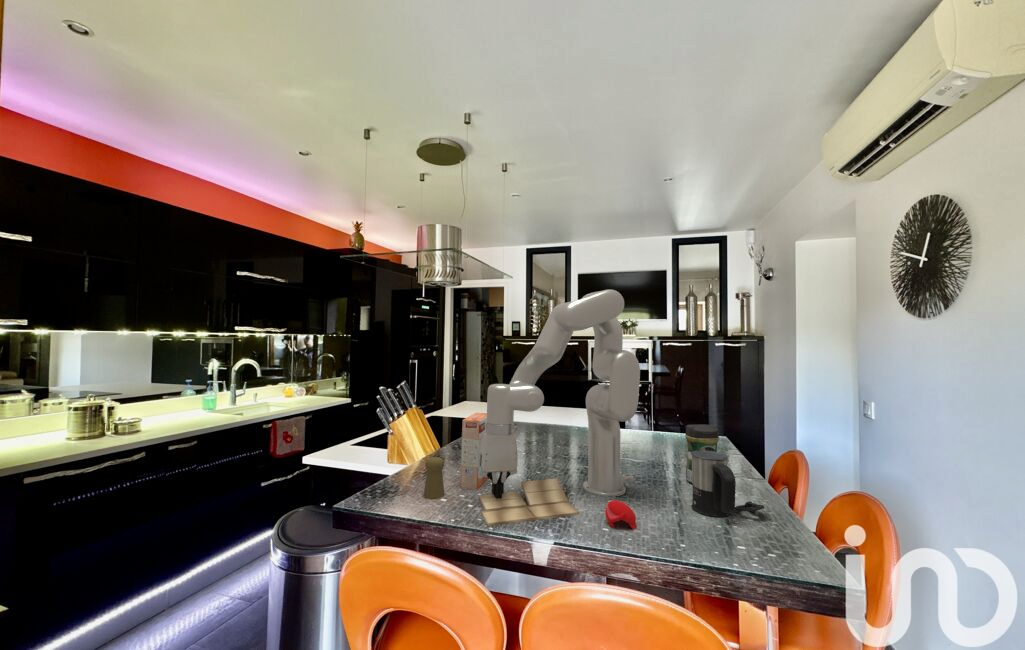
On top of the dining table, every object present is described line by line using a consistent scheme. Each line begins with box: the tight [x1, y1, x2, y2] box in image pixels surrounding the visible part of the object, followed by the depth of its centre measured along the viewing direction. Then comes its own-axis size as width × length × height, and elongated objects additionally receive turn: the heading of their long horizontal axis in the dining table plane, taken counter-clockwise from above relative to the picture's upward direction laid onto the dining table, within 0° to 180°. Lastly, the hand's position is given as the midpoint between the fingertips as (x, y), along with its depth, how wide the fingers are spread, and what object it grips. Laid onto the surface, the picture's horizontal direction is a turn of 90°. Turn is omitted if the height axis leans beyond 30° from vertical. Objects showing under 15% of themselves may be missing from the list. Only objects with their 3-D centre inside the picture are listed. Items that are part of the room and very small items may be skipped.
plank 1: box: [478, 491, 527, 511], centre depth 109 cm, size 11×8×1 cm
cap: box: [604, 499, 638, 531], centre depth 97 cm, size 8×6×6 cm
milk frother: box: [690, 451, 765, 518], centre depth 107 cm, size 14×16×15 cm
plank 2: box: [520, 477, 569, 506], centre depth 112 cm, size 11×8×1 cm
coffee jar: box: [684, 423, 720, 484], centre depth 129 cm, size 10×8×19 cm
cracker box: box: [459, 412, 489, 491], centre depth 126 cm, size 14×6×21 cm, turn 168°
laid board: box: [480, 500, 580, 527], centre depth 102 cm, size 24×7×1 cm, turn 108°
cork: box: [423, 456, 445, 500], centre depth 114 cm, size 6×6×11 cm
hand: (497, 496), depth 110 cm, fingers closed
